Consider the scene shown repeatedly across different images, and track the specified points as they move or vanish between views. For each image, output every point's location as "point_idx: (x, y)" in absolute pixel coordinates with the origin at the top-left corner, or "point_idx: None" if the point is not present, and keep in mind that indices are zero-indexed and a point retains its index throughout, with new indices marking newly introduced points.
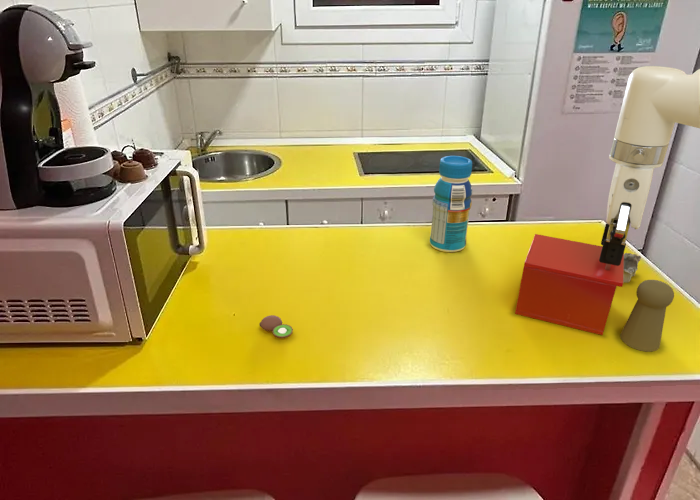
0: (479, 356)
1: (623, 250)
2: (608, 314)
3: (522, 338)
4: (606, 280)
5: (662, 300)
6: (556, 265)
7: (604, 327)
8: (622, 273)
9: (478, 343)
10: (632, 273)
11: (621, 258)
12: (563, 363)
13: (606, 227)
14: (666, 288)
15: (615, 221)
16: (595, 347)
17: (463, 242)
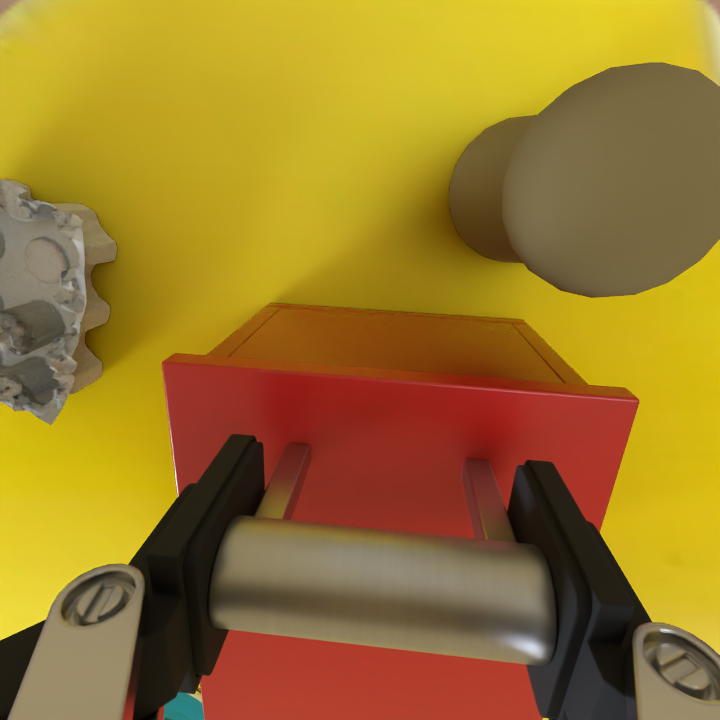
0: (716, 615)
1: (602, 554)
2: (551, 348)
3: (605, 531)
4: (614, 477)
5: None
6: (516, 671)
7: (533, 330)
8: (508, 395)
9: (656, 620)
10: (50, 203)
11: (569, 496)
12: (714, 432)
13: (215, 664)
14: (699, 128)
15: (150, 685)
16: (603, 342)
17: (168, 708)
